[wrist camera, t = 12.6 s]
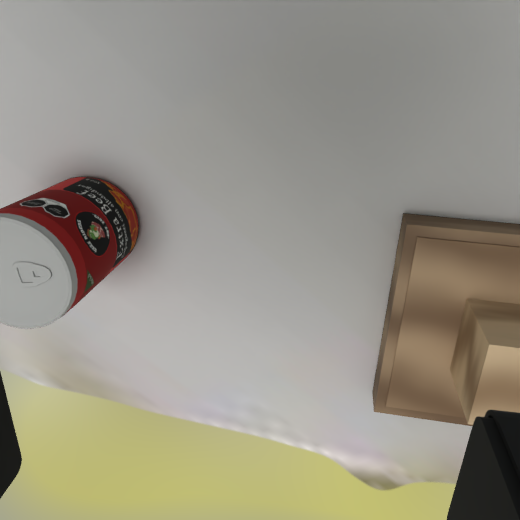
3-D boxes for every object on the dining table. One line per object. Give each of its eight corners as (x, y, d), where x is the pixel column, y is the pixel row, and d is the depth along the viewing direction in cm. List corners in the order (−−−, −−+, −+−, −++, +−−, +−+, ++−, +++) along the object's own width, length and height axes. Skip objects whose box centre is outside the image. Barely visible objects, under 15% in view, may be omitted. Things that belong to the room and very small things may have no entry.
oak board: (403, 213, 35) (407, 225, 33) (643, 235, 33) (666, 249, 31) (372, 392, 42) (374, 412, 39) (572, 420, 40) (587, 444, 37)
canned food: (158, 246, 40) (94, 310, 30) (79, 275, 42) (-4, 344, 32) (113, 158, 38) (27, 196, 28) (32, 194, 40) (-73, 241, 30)
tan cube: (466, 298, 34) (489, 344, 29) (557, 308, 34) (598, 357, 28) (449, 369, 37) (467, 424, 31) (534, 380, 36) (567, 438, 30)
